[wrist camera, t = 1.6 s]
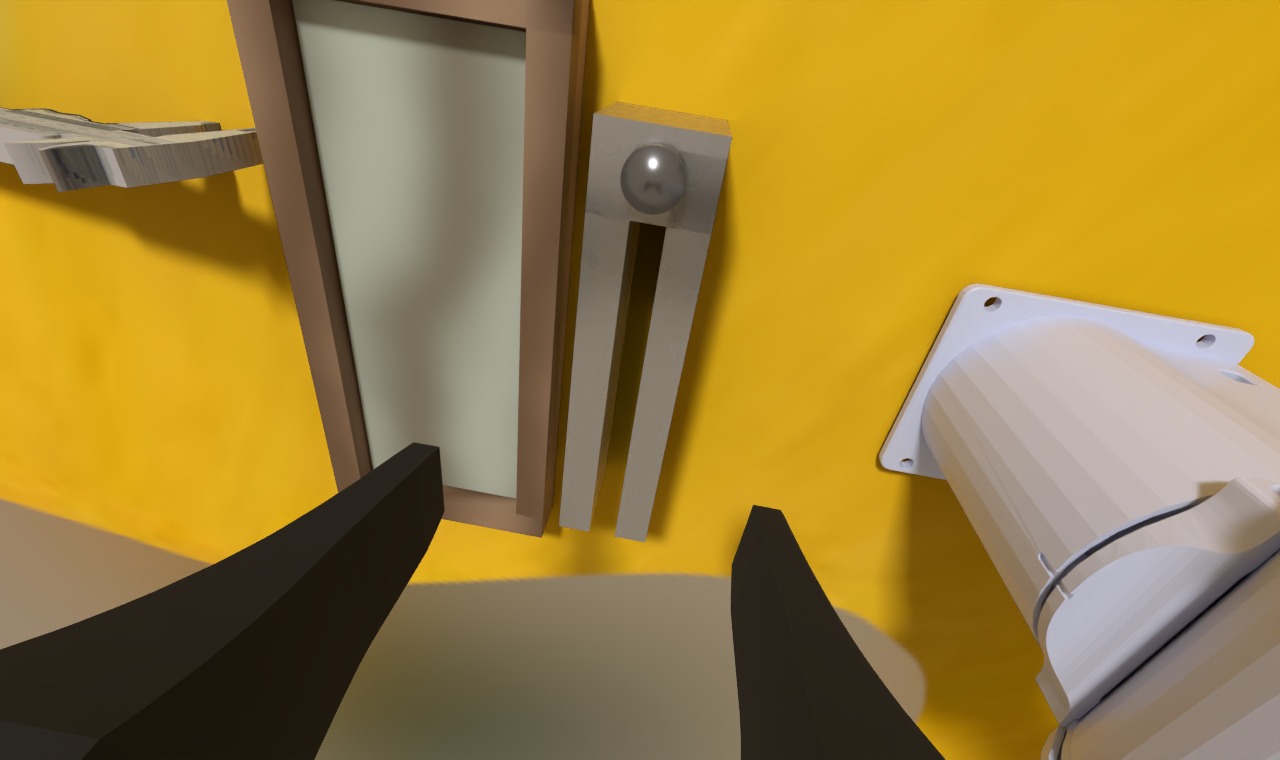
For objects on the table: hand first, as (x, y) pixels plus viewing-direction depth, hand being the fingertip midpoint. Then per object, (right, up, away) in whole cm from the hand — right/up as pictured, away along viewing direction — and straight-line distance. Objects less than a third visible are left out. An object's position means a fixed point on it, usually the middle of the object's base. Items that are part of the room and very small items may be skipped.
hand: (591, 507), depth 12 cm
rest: (-6, +6, +8) cm, 12 cm away
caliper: (-21, +13, +7) cm, 26 cm away
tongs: (+1, +5, +8) cm, 9 cm away
